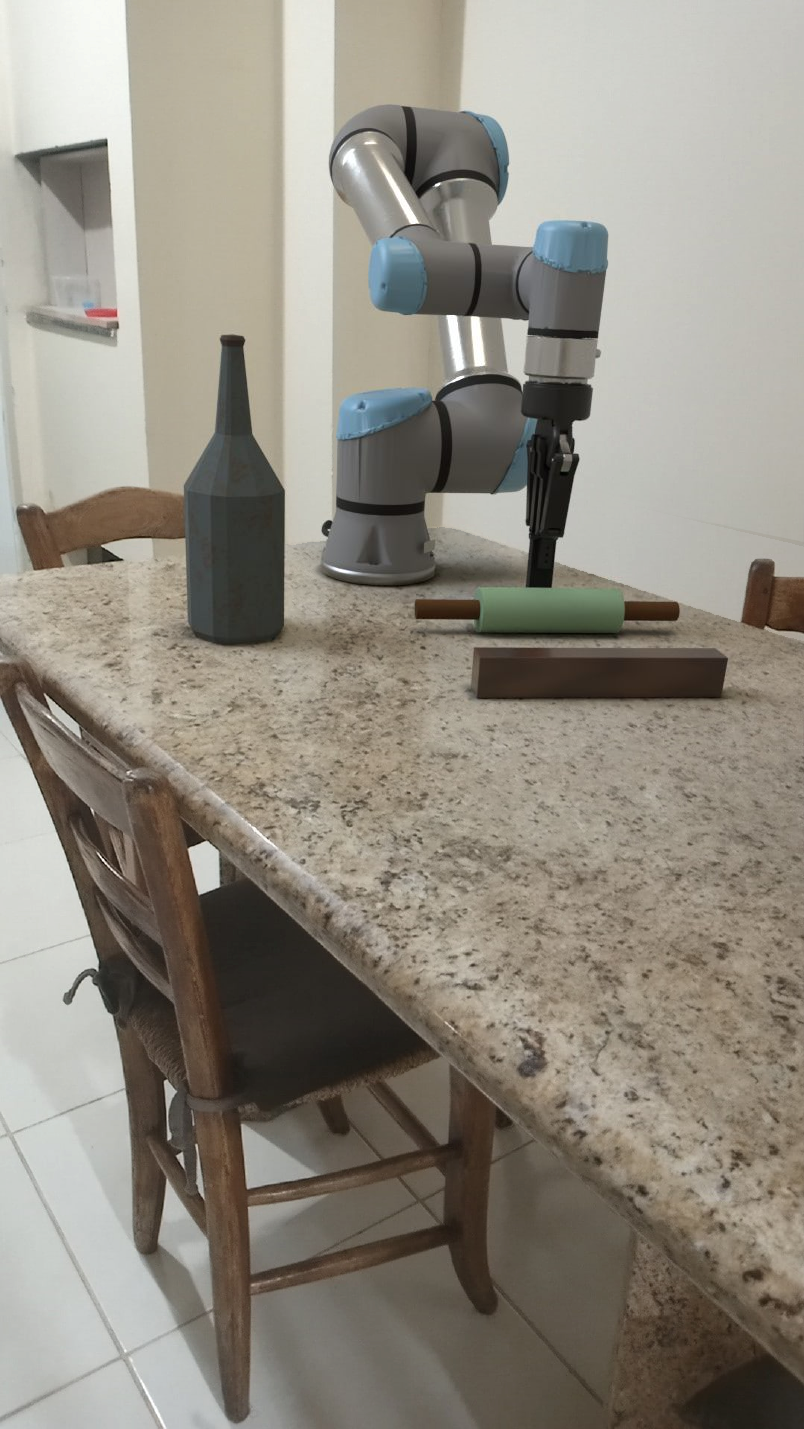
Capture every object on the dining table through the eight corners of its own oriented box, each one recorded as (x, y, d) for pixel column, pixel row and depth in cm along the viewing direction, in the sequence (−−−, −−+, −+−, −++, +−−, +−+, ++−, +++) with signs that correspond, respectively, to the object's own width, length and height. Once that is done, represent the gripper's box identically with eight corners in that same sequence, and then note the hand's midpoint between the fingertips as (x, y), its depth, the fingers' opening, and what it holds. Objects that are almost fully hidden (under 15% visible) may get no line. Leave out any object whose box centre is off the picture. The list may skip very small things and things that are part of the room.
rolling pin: (411, 617, 116) (417, 640, 112) (414, 578, 113) (420, 599, 109) (664, 619, 120) (678, 641, 116) (673, 581, 117) (688, 602, 113)
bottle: (302, 631, 111) (306, 337, 100) (238, 652, 104) (234, 337, 92) (234, 612, 116) (230, 331, 105) (168, 630, 109) (157, 330, 98)
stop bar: (476, 698, 95) (480, 657, 93) (470, 686, 98) (473, 647, 96) (721, 697, 98) (728, 658, 97) (708, 686, 101) (715, 647, 99)
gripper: (611, 386, 105) (585, 609, 113) (574, 377, 117) (554, 580, 125) (540, 383, 103) (519, 608, 112) (510, 375, 115) (494, 579, 124)
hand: (537, 593), depth 119 cm, fingers closed
